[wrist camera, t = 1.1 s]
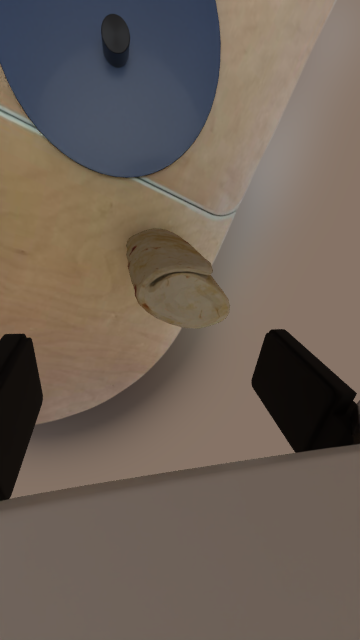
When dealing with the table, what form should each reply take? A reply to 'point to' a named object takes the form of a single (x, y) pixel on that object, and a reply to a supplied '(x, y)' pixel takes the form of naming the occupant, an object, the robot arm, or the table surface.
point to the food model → (174, 280)
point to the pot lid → (113, 76)
